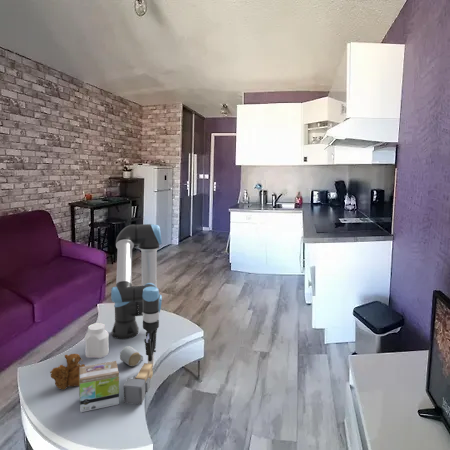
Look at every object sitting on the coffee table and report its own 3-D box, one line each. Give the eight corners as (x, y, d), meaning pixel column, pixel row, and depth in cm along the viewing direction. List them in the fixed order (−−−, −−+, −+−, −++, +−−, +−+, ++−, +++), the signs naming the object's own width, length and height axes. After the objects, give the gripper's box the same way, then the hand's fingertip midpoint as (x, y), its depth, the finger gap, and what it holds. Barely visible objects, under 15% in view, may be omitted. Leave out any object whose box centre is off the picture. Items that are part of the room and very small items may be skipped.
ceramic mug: (129, 369, 169) (129, 354, 168) (119, 363, 174) (119, 348, 173) (147, 361, 177) (147, 347, 176) (137, 355, 182) (137, 341, 181)
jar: (82, 357, 178) (81, 330, 176) (90, 348, 187) (89, 321, 185) (104, 358, 178) (104, 331, 175) (111, 349, 187) (110, 322, 185)
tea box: (80, 414, 138) (78, 379, 135) (79, 398, 147) (78, 366, 144) (119, 405, 144) (119, 371, 141) (116, 390, 153) (116, 359, 150)
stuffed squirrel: (90, 381, 159) (89, 354, 157) (59, 396, 148) (58, 367, 146) (78, 373, 165) (77, 347, 163) (48, 386, 154) (46, 359, 152)
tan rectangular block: (144, 374, 165) (144, 363, 164) (152, 375, 165) (152, 363, 164) (135, 390, 153) (135, 378, 152) (144, 391, 153) (144, 378, 152)
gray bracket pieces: (133, 385, 157) (133, 368, 155) (150, 386, 156) (150, 370, 155) (123, 402, 145) (123, 385, 144) (141, 404, 144) (141, 386, 143)
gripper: (147, 313, 172) (147, 358, 176) (138, 325, 159) (138, 372, 163) (162, 314, 171) (162, 359, 175) (154, 326, 159) (154, 374, 162)
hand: (151, 365), depth 169 cm, fingers closed
